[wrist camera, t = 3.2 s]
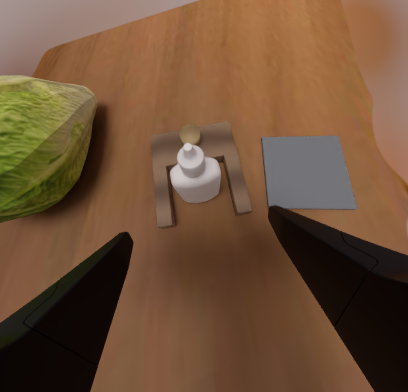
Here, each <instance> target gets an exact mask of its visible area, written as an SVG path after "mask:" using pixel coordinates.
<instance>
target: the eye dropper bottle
mask: <svg viewBox="0 0 408 392" xmlns="http://www.w3.org/2000/svg"><path fill="white" fill-rule="evenodd" d="M177 161H178V164H177V165H176V166H174V167H173V168H172V169H171V171H170V178H171V183H172V185H173V187H174V188H175V190H176V191H177V192H178V194H179V195H180V196H181V197H182V199H183V200H184V201H185V202H188V203H202V202H206V201H208V200H211V199H212V198H214V197H216V196H217V195H218V194H219V189H220V180H221V171H220V167H219V164H218V161H217V160H216V159H214V158H210V157H204V153H203V151H202V149H201V148H199V147H198V146H196V145H191V144H190V143H186V144H184V146H183V148H181V149H180V150H179V152H178V155H177Z"/></svg>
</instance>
